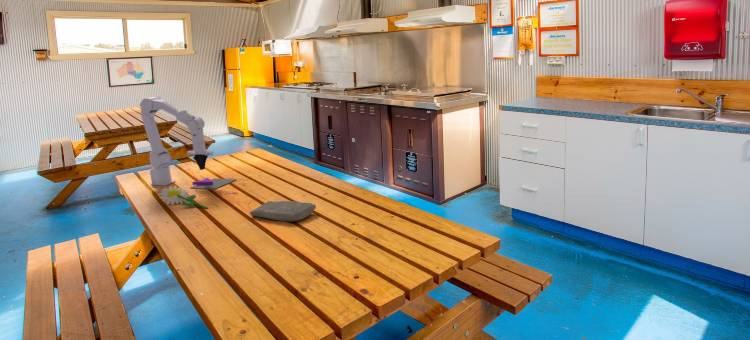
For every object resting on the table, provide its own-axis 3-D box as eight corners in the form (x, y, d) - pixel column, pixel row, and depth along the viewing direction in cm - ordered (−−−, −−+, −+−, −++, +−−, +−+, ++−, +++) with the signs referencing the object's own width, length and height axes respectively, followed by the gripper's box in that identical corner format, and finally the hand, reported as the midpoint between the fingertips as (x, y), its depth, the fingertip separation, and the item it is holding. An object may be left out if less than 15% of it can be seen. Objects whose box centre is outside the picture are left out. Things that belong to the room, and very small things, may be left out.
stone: (318, 203, 204) (296, 214, 191) (319, 213, 205) (297, 225, 192) (266, 197, 216) (241, 208, 203) (267, 207, 217) (243, 219, 204)
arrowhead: (194, 182, 266) (191, 187, 256) (194, 179, 265) (191, 183, 256) (214, 179, 268) (213, 184, 258) (214, 176, 267) (212, 181, 258)
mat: (190, 188, 255) (190, 187, 255) (214, 179, 271) (214, 178, 271) (213, 189, 250) (213, 188, 250) (236, 180, 266) (236, 179, 266)
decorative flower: (220, 209, 225) (180, 192, 242) (219, 199, 224) (178, 182, 241) (195, 219, 216) (154, 201, 233) (193, 209, 214) (153, 191, 231)
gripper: (181, 144, 257) (185, 170, 260) (205, 144, 252) (208, 171, 255) (191, 141, 263) (194, 167, 266) (214, 141, 258) (218, 168, 261)
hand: (202, 169), depth 261 cm, fingers closed
